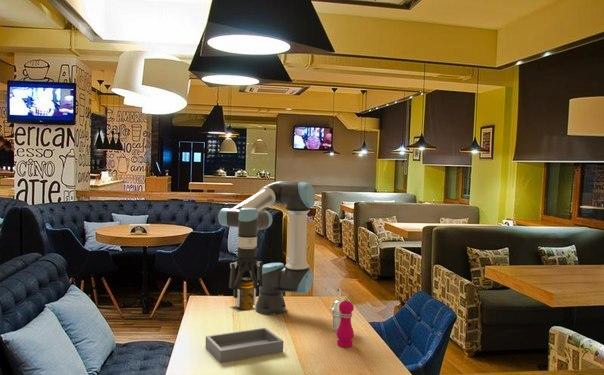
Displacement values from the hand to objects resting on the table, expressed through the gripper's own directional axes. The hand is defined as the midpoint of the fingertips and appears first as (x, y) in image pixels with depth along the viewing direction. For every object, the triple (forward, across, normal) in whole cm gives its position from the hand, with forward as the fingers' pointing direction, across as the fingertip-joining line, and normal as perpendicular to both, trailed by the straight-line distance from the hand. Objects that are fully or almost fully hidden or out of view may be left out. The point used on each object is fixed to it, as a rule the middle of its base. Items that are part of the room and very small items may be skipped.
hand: (245, 305), depth 206 cm
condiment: (+2, -1, 0) cm, 2 cm away
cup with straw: (+17, +47, +4) cm, 50 cm away
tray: (+18, 0, -1) cm, 18 cm away
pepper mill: (+17, +40, -12) cm, 45 cm away
